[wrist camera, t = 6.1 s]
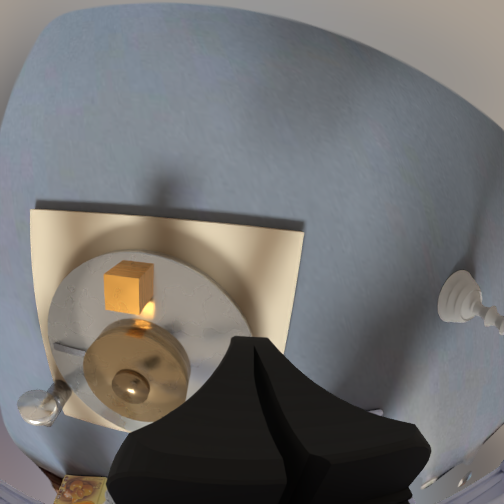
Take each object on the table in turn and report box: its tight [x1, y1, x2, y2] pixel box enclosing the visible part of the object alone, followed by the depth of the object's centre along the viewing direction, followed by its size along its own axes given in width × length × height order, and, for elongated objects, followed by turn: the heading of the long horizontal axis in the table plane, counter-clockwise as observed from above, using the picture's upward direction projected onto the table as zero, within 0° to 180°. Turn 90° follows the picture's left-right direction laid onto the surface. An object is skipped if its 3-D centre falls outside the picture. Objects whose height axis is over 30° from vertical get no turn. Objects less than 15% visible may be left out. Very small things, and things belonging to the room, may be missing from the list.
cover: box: [83, 318, 191, 422], centre depth 16 cm, size 7×7×3 cm
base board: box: [30, 209, 304, 433], centre depth 20 cm, size 20×20×1 cm
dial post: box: [17, 379, 72, 427], centre depth 17 cm, size 4×3×7 cm
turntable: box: [48, 249, 253, 432], centre depth 17 cm, size 16×16×4 cm
